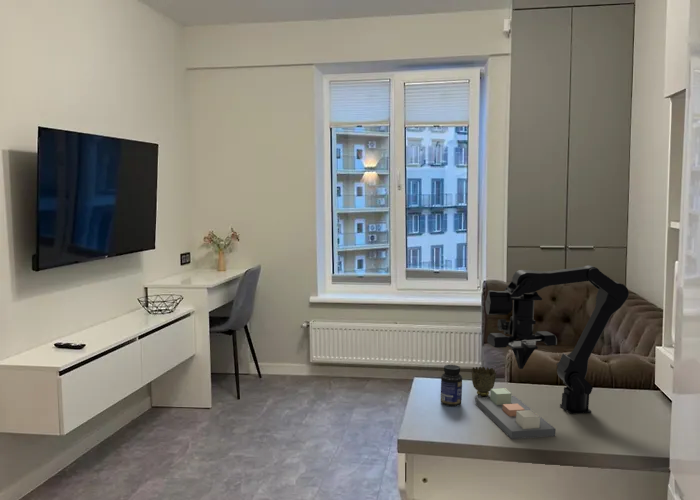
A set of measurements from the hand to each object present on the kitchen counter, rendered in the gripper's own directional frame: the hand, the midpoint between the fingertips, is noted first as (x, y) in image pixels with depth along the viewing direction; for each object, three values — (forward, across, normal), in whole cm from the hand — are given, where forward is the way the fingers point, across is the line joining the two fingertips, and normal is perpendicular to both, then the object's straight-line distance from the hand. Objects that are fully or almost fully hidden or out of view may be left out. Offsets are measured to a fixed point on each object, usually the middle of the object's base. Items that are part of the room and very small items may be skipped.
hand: (520, 368), depth 174 cm
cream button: (+10, +5, +15) cm, 19 cm away
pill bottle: (+12, +18, -7) cm, 23 cm away
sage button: (+10, +5, -2) cm, 12 cm away
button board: (+12, +5, +7) cm, 15 cm away
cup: (+12, +6, -12) cm, 18 cm away
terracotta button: (+12, +5, +7) cm, 15 cm away
